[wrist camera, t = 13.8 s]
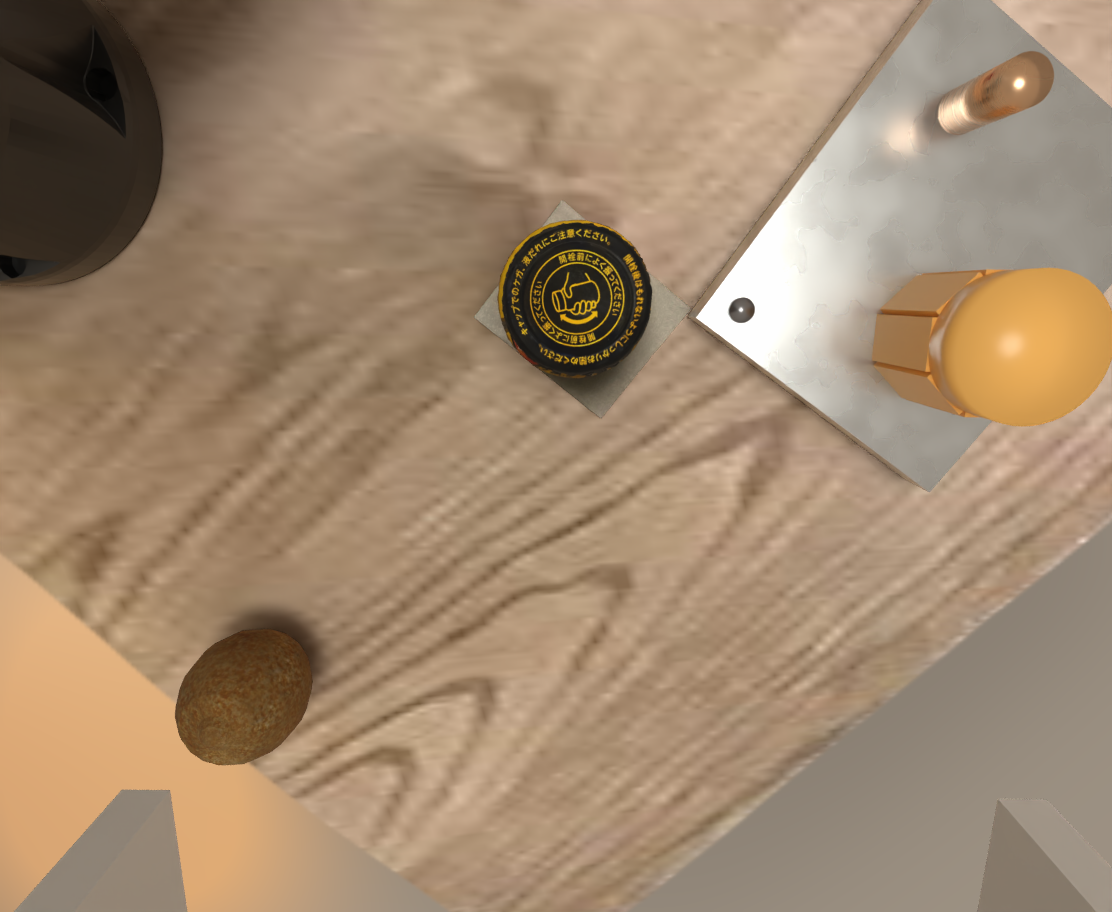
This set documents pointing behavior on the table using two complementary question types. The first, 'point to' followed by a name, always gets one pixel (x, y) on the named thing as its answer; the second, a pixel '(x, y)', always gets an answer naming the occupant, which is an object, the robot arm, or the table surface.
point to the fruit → (243, 697)
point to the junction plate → (918, 218)
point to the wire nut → (996, 343)
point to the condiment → (581, 307)
